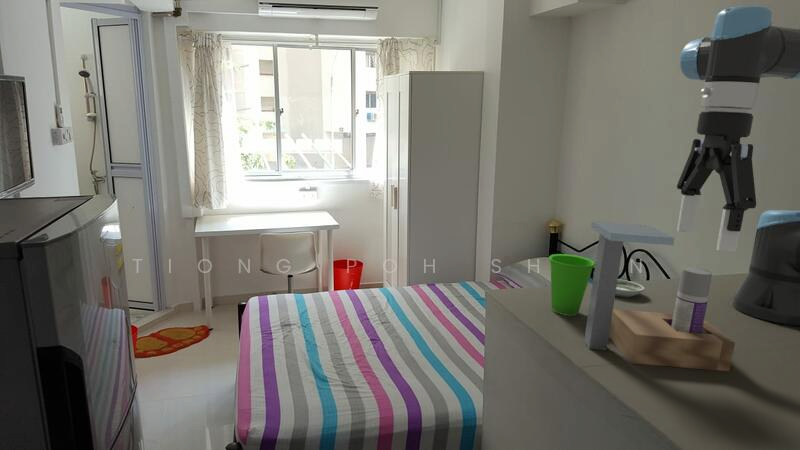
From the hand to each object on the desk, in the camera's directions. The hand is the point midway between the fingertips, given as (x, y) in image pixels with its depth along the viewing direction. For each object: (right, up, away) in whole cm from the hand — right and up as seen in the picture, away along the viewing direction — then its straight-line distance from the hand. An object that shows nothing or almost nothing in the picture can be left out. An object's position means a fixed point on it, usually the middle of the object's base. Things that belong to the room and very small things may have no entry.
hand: (704, 240), depth 92 cm
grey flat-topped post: (-14, -19, +4) cm, 24 cm away
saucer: (0, -14, +36) cm, 39 cm away
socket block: (-5, -19, +4) cm, 20 cm away
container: (-2, -20, +4) cm, 20 cm away
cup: (-17, -15, +21) cm, 31 cm away
